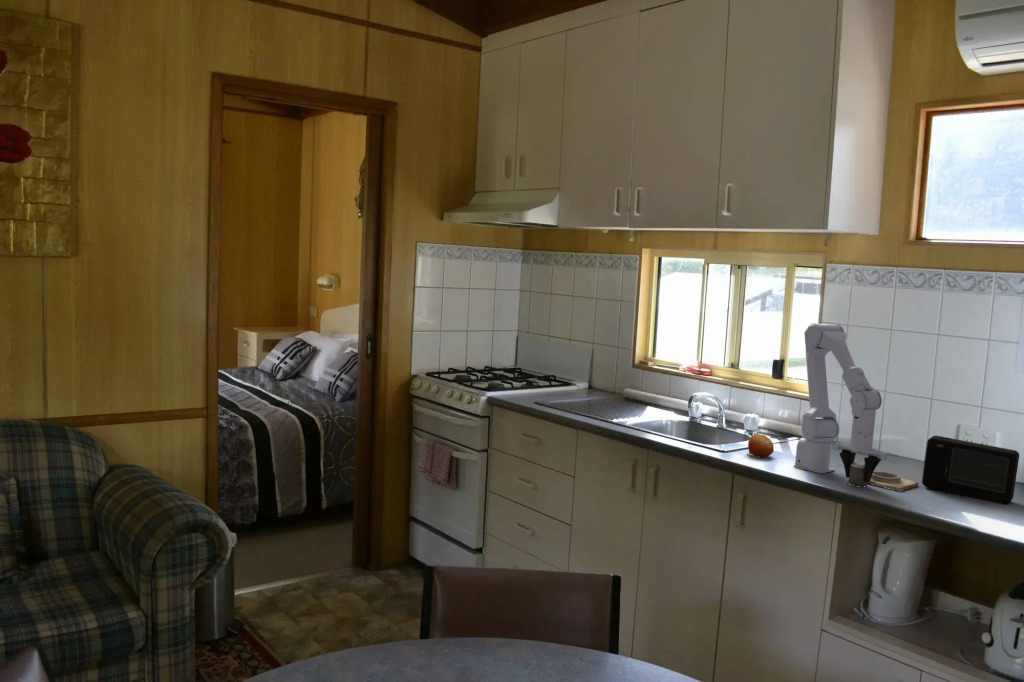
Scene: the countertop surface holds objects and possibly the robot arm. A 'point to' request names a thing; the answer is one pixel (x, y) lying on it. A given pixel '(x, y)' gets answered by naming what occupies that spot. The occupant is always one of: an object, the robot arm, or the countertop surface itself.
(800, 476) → the countertop surface
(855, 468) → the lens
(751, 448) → the fruit
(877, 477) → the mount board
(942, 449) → the black box
